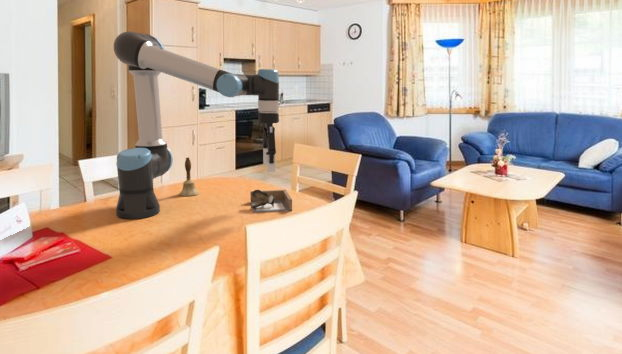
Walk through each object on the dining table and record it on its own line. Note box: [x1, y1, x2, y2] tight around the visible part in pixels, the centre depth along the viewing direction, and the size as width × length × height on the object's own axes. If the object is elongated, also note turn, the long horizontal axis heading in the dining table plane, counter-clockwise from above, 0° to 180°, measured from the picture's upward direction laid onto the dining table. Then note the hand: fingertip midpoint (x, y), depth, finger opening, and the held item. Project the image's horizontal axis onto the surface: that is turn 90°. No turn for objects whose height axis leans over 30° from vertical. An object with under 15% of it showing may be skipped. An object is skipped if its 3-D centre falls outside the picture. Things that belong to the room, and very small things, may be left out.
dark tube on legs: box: [250, 189, 275, 209], centre depth 168 cm, size 8×7×9 cm
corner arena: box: [249, 189, 293, 214], centre depth 171 cm, size 14×15×4 cm
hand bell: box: [179, 157, 200, 197], centre depth 187 cm, size 8×8×16 cm
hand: (268, 168), depth 165 cm, fingers open, 13 cm apart
